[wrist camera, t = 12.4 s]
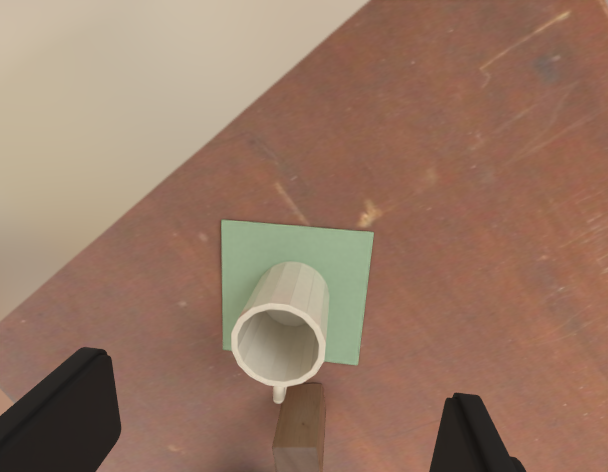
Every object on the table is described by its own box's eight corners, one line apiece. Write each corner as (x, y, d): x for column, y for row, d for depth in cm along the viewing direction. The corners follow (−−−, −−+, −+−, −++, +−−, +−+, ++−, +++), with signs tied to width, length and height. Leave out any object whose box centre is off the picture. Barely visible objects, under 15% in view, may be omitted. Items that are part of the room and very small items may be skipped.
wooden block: (322, 381, 36) (317, 447, 29) (326, 412, 37) (322, 484, 30) (285, 382, 37) (270, 447, 29) (289, 413, 38) (276, 483, 30)
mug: (258, 257, 33) (230, 299, 25) (332, 264, 32) (328, 309, 24) (256, 348, 36) (231, 412, 28) (324, 356, 35) (318, 423, 27)
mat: (222, 219, 32) (221, 220, 32) (373, 231, 31) (373, 232, 31) (223, 348, 36) (222, 349, 36) (357, 363, 35) (357, 365, 35)
